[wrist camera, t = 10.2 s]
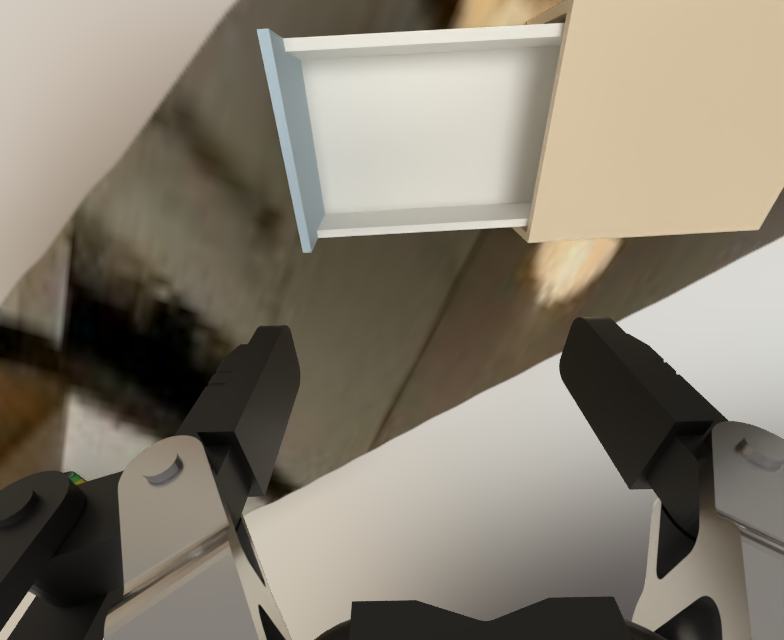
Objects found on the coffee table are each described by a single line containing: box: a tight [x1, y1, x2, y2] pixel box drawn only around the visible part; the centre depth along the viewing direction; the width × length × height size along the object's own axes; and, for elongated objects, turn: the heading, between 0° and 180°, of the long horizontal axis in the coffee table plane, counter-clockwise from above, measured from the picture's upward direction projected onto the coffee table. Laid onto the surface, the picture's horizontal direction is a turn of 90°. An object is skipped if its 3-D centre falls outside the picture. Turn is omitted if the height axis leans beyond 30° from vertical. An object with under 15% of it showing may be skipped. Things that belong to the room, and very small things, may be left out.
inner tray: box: [257, 23, 565, 253], centre depth 23 cm, size 25×12×8 cm, turn 93°
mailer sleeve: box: [512, 0, 784, 243], centre depth 25 cm, size 18×14×7 cm
